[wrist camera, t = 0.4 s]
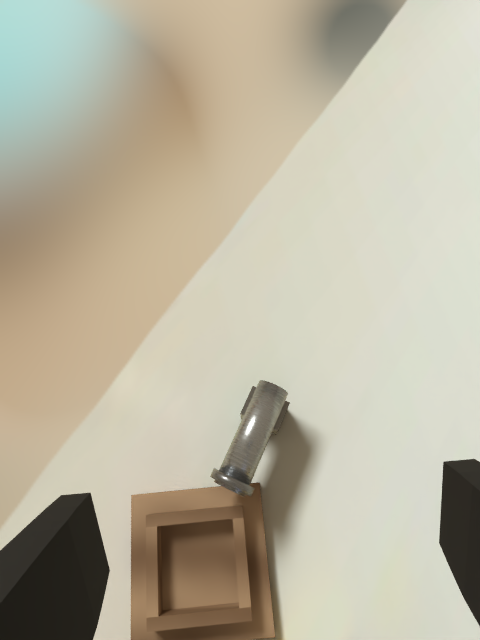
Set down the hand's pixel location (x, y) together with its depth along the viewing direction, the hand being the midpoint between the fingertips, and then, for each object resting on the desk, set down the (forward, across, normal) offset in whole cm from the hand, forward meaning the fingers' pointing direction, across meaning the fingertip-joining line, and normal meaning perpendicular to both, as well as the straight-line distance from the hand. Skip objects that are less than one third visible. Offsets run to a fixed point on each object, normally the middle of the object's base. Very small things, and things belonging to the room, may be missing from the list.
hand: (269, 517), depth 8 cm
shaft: (+23, +1, +13) cm, 27 cm away
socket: (+18, +6, +20) cm, 27 cm away
